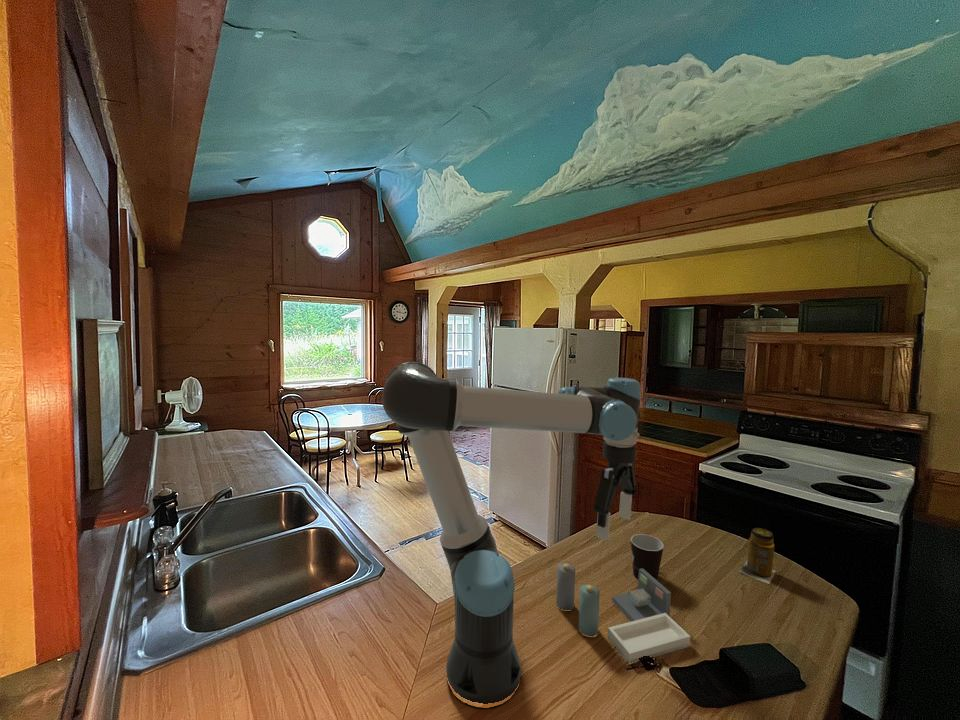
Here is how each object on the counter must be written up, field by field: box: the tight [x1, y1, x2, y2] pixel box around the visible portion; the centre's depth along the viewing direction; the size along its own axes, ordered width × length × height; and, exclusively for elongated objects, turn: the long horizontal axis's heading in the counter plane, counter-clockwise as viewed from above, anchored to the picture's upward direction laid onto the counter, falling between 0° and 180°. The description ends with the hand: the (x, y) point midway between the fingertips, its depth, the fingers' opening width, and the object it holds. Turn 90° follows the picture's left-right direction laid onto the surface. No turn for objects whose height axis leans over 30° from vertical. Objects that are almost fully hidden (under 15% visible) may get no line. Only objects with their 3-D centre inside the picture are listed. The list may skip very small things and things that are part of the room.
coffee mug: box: [630, 533, 665, 581], centre depth 117 cm, size 12×9×10 cm
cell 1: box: [555, 562, 576, 611], centre depth 104 cm, size 4×4×11 cm
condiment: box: [738, 527, 777, 585], centre depth 118 cm, size 7×8×12 cm
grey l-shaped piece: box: [611, 568, 672, 622], centre depth 102 cm, size 9×10×7 cm
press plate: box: [630, 588, 651, 607], centre depth 102 cm, size 4×3×2 cm
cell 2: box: [578, 583, 601, 636], centre depth 95 cm, size 4×4×11 cm
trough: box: [607, 613, 691, 664], centre depth 92 cm, size 16×8×2 cm, turn 108°
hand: (613, 527), depth 100 cm, fingers open, 13 cm apart
